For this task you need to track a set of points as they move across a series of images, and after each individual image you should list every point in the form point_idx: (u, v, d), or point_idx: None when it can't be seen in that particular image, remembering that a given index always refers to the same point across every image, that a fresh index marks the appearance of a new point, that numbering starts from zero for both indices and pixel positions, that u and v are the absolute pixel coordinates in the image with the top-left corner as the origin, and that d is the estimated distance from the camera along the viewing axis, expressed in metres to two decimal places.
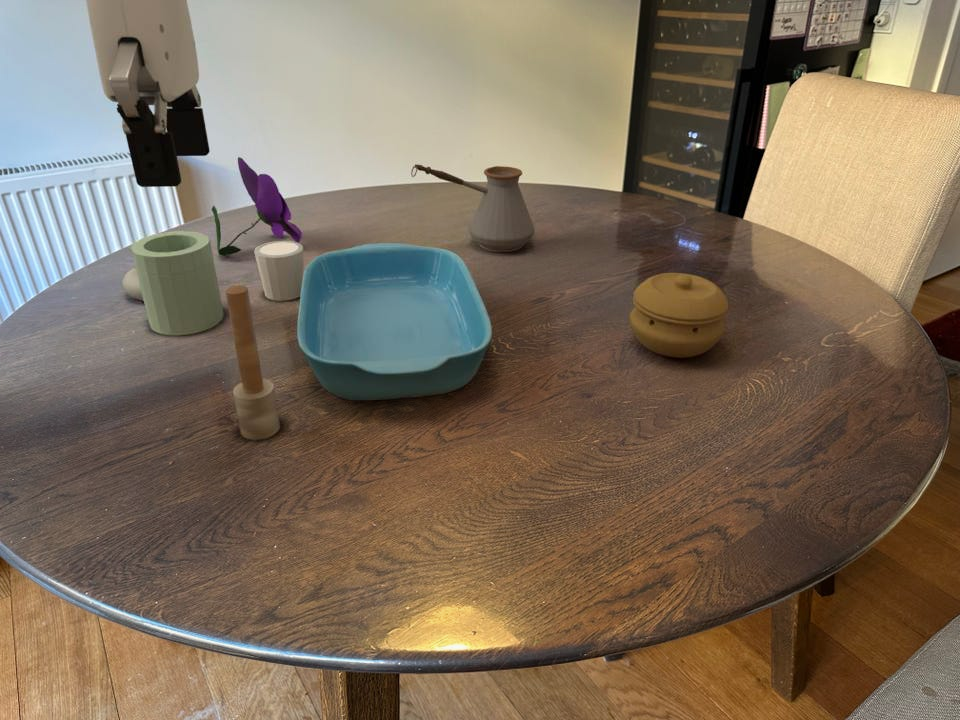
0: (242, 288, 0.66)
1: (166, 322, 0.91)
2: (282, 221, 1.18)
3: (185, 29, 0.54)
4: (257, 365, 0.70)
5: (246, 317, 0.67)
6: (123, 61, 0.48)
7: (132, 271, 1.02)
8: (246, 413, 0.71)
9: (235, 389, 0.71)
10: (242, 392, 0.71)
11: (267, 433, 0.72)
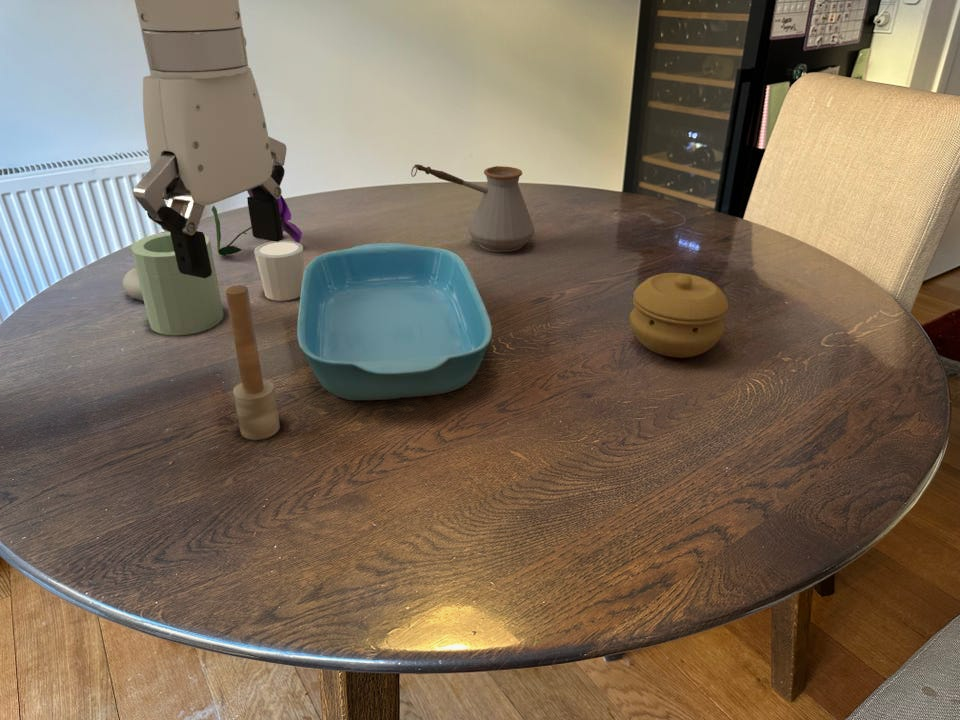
0: (242, 288, 0.66)
1: (166, 322, 0.91)
2: (282, 221, 1.18)
3: (242, 138, 0.59)
4: (257, 365, 0.70)
5: (246, 317, 0.67)
6: (152, 174, 0.54)
7: (132, 271, 1.02)
8: (246, 413, 0.71)
9: (235, 389, 0.71)
10: (242, 392, 0.71)
11: (267, 433, 0.72)
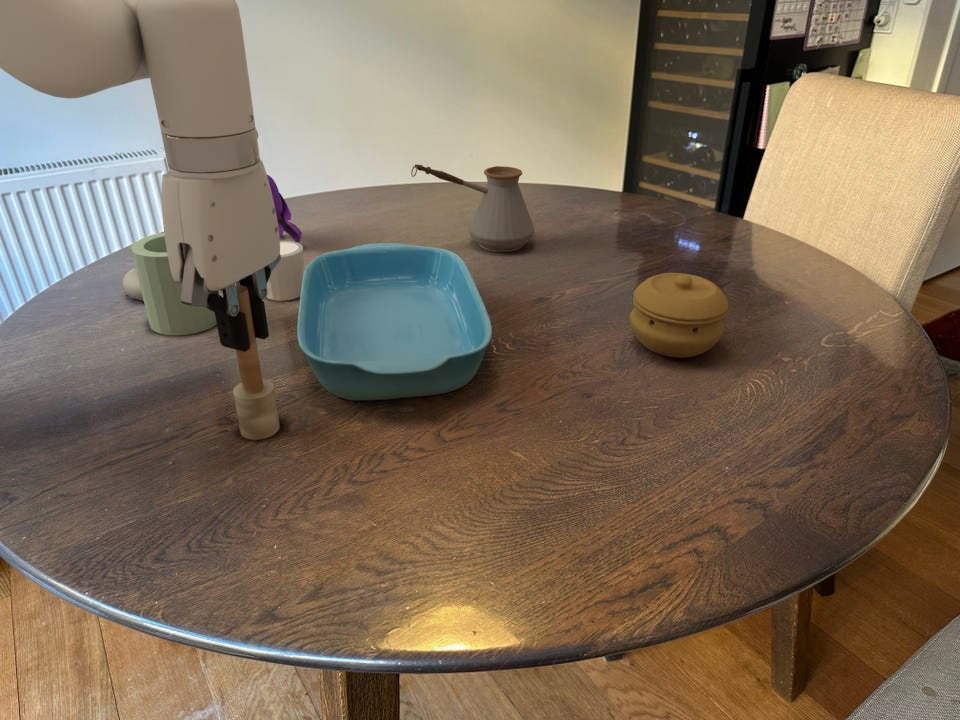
0: (242, 288, 0.66)
1: (166, 322, 0.91)
2: (282, 221, 1.18)
3: (253, 226, 0.63)
4: (257, 365, 0.70)
5: (246, 317, 0.67)
6: (188, 281, 0.60)
7: (132, 271, 1.02)
8: (246, 413, 0.71)
9: (235, 389, 0.71)
10: (242, 392, 0.71)
11: (266, 433, 0.72)
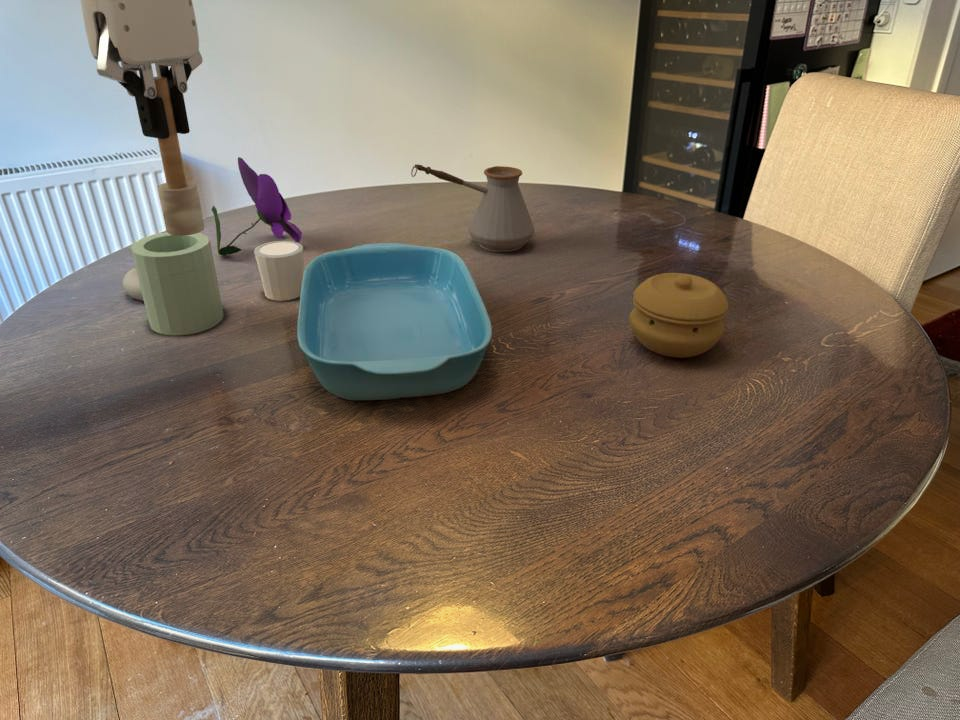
0: (162, 77, 0.71)
1: (166, 322, 0.91)
2: (282, 221, 1.18)
3: (168, 9, 0.68)
4: (178, 159, 0.75)
5: (165, 106, 0.72)
6: (103, 51, 0.65)
7: (132, 271, 1.02)
8: (169, 206, 0.76)
9: (160, 185, 0.76)
10: (166, 187, 0.76)
11: (190, 230, 0.77)
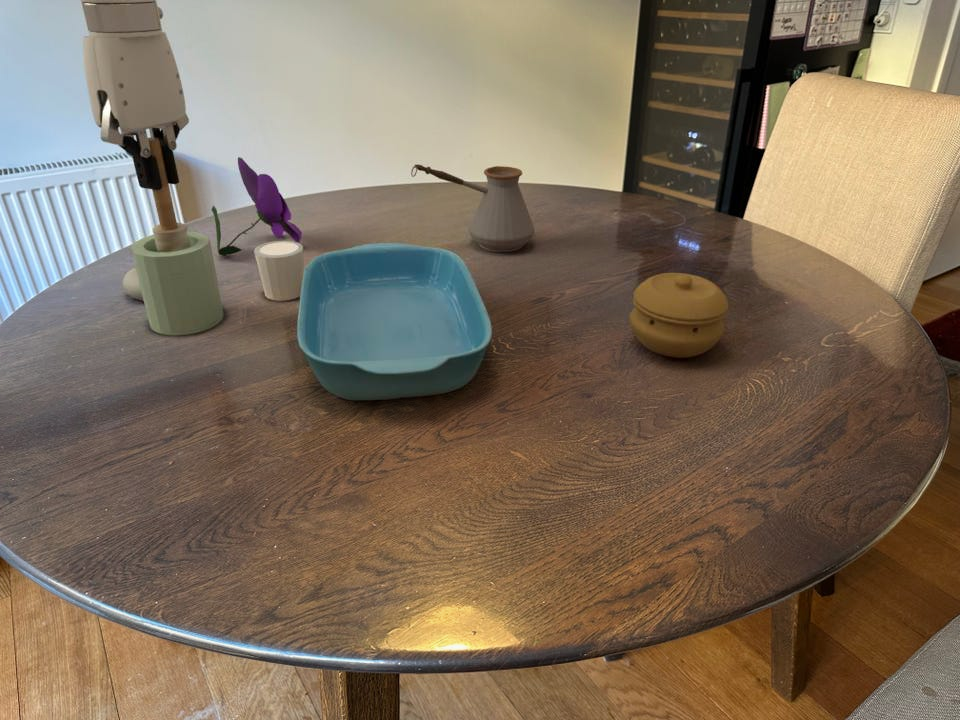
0: (154, 138, 0.84)
1: (166, 322, 0.91)
2: (282, 221, 1.18)
3: (159, 84, 0.81)
4: (170, 205, 0.87)
5: (158, 162, 0.85)
6: (105, 122, 0.78)
7: (132, 271, 1.02)
8: (163, 245, 0.89)
9: (154, 227, 0.89)
10: (159, 229, 0.89)
11: None
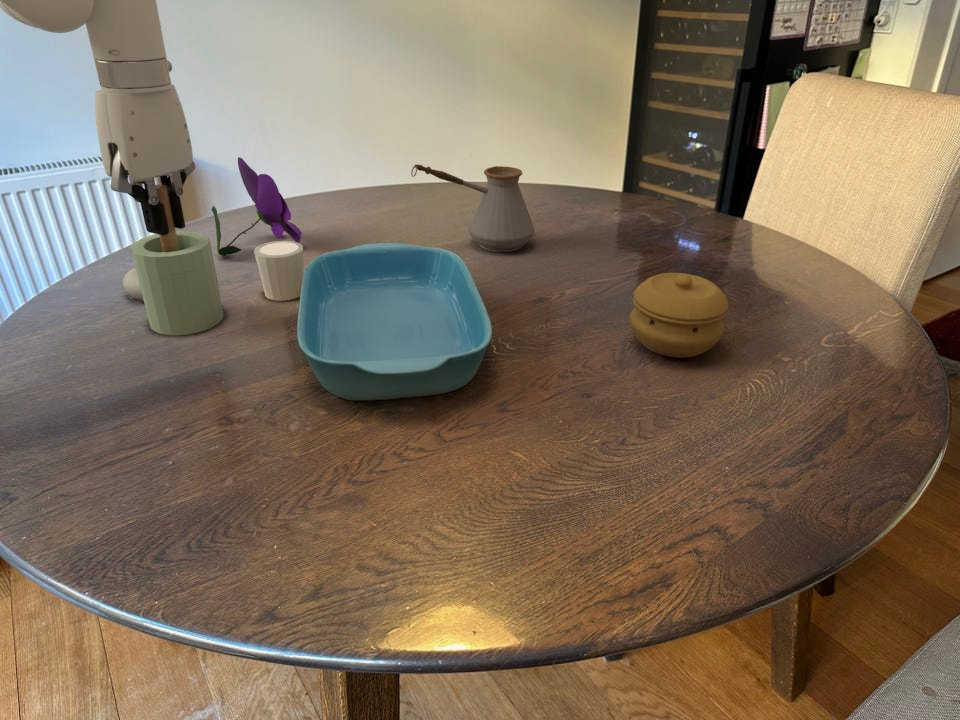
0: (162, 185, 0.87)
1: (166, 322, 0.91)
2: (282, 221, 1.18)
3: (167, 135, 0.83)
4: (176, 249, 0.90)
5: (165, 208, 0.87)
6: (115, 172, 0.81)
7: (132, 271, 1.02)
8: None
9: None
10: None
11: None
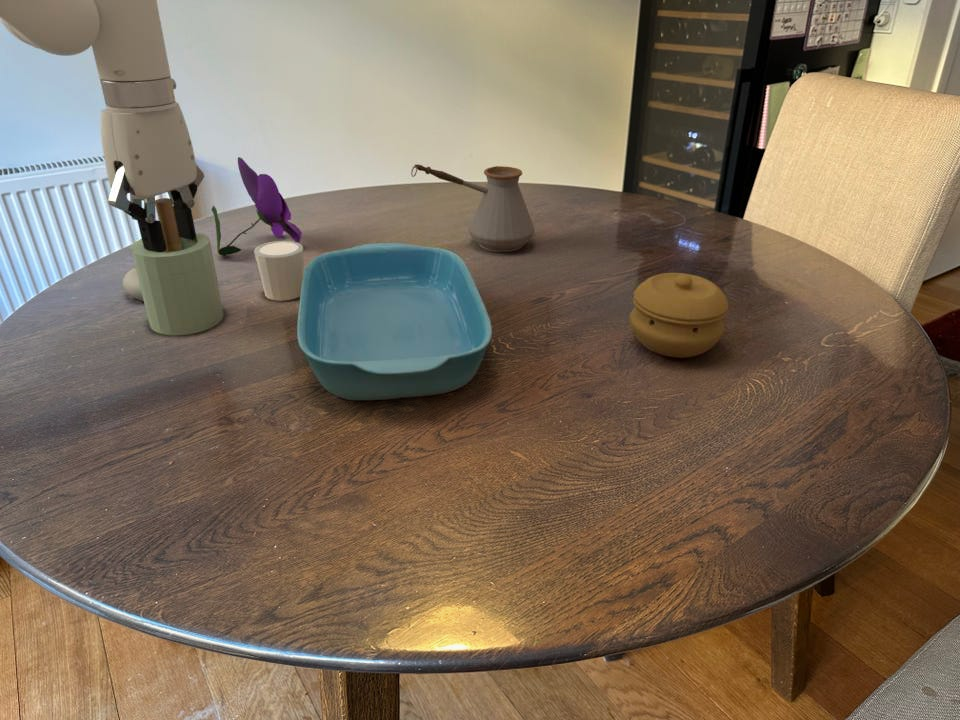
0: (167, 199, 0.88)
1: (166, 322, 0.91)
2: (282, 221, 1.18)
3: (172, 152, 0.84)
4: None
5: (171, 222, 0.88)
6: (115, 187, 0.81)
7: (132, 271, 1.02)
8: None
9: None
10: None
11: None
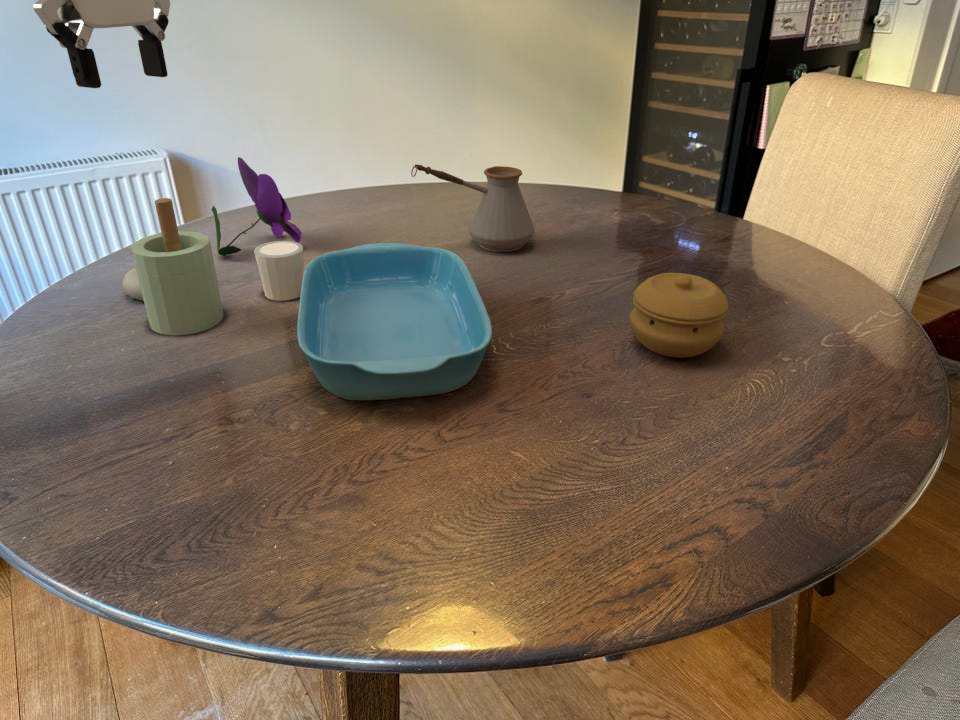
0: (167, 199, 0.88)
1: (166, 322, 0.91)
2: (282, 221, 1.18)
3: None
4: None
5: (171, 222, 0.88)
6: None
7: (132, 271, 1.02)
8: None
9: None
10: None
11: None
